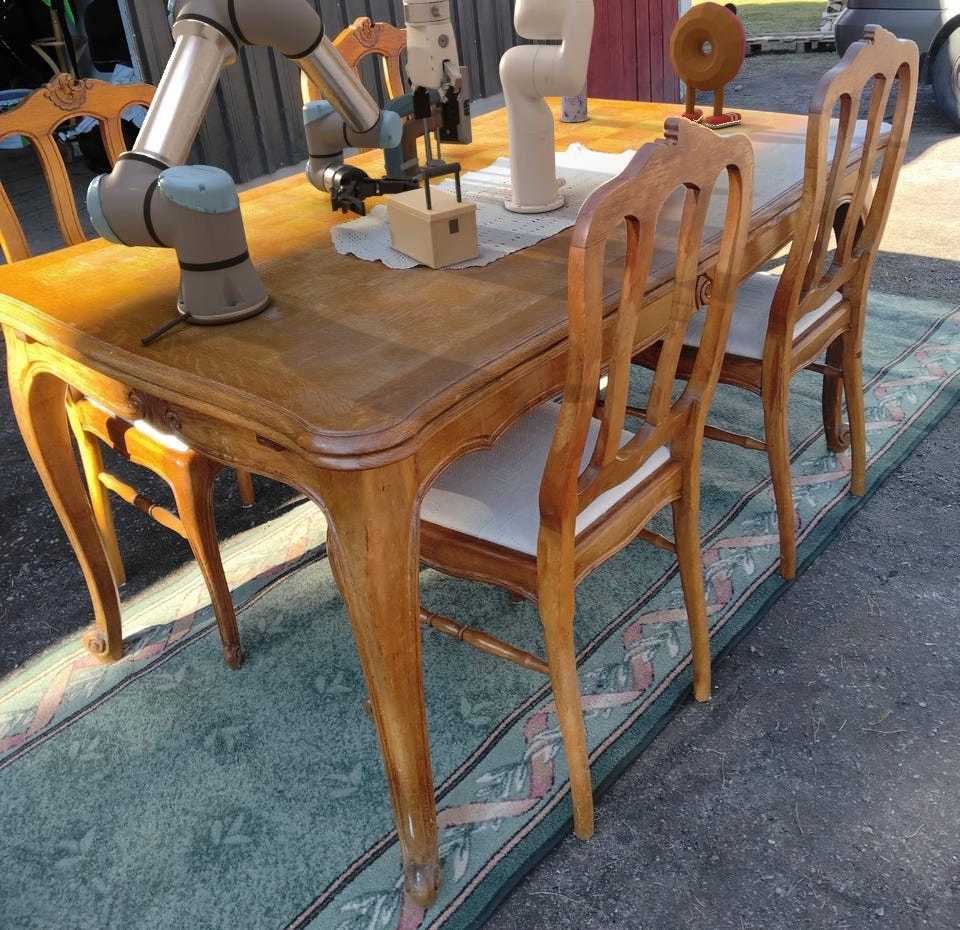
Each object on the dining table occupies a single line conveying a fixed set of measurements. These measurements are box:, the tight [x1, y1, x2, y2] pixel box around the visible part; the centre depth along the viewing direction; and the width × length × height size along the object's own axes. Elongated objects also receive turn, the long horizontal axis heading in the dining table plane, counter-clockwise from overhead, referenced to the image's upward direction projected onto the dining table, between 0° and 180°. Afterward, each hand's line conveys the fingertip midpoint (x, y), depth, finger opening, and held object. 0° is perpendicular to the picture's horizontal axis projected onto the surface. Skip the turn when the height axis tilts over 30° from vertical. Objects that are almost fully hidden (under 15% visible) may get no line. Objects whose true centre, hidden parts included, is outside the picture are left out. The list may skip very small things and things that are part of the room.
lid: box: [385, 161, 478, 222], centre depth 177 cm, size 17×10×8 cm, turn 32°
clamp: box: [378, 65, 473, 190], centre depth 234 cm, size 35×9×21 cm, turn 151°
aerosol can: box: [560, 75, 589, 123], centre depth 273 cm, size 8×8×20 cm
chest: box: [386, 202, 480, 270], centre depth 182 cm, size 17×10×9 cm, turn 32°
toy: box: [669, 1, 747, 129], centre depth 252 cm, size 21×10×30 cm, turn 47°
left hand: (394, 202), depth 193 cm, fingers open, 13 cm apart
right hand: (437, 121), depth 167 cm, fingers open, 9 cm apart
